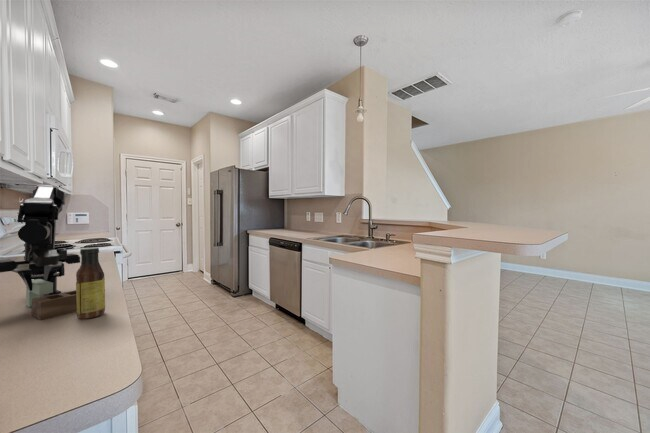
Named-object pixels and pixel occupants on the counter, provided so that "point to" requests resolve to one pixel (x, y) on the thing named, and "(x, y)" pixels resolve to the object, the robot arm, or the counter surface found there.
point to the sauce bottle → (90, 285)
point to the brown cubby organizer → (54, 305)
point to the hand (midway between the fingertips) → (38, 289)
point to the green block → (38, 290)
